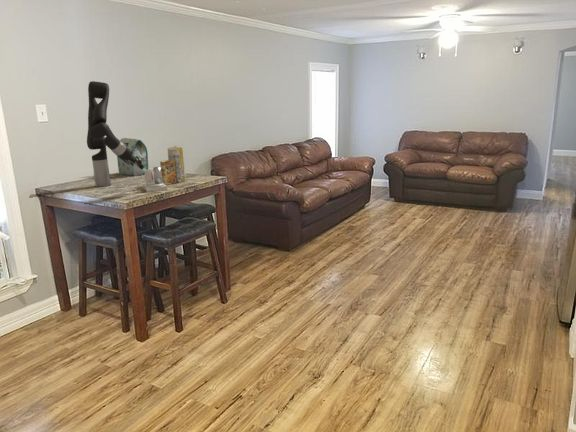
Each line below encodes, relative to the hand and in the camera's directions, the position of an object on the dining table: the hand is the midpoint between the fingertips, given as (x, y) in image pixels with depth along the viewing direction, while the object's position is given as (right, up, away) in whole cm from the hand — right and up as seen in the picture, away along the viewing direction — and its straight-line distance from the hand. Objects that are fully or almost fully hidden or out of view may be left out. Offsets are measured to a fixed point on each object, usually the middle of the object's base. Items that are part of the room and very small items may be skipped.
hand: (140, 167), depth 267 cm
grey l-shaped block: (+5, -12, +13) cm, 18 cm away
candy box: (+10, -8, +29) cm, 31 cm away
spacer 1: (-1, -5, 0) cm, 5 cm away
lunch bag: (-28, +3, +72) cm, 77 cm away
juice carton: (+14, -5, +36) cm, 39 cm away
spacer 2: (+7, -8, +13) cm, 17 cm away
